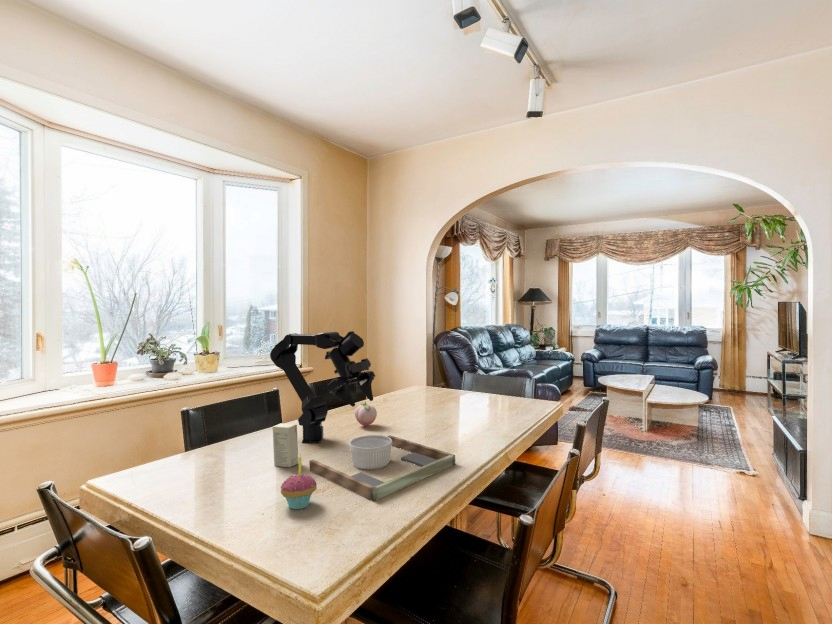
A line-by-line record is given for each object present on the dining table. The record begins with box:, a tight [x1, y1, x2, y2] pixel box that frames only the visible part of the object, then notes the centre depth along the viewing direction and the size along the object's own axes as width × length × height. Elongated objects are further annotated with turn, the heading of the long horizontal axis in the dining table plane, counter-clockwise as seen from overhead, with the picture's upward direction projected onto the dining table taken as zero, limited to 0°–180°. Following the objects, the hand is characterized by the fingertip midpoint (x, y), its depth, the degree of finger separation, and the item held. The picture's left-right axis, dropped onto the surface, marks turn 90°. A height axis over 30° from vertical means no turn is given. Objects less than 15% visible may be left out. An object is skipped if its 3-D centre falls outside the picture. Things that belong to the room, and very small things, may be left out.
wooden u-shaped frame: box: [309, 434, 456, 502], centre depth 127 cm, size 29×32×3 cm
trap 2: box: [400, 452, 436, 468], centre depth 132 cm, size 10×6×1 cm, turn 46°
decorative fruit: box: [354, 401, 378, 428], centre depth 170 cm, size 9×8×10 cm
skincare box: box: [272, 422, 299, 468], centre depth 131 cm, size 6×4×12 cm
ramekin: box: [348, 434, 393, 471], centre depth 131 cm, size 13×13×7 cm
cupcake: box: [280, 453, 318, 510], centre depth 104 cm, size 9×8×12 cm
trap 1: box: [350, 471, 385, 486], centre depth 116 cm, size 10×6×1 cm, turn 46°
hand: (363, 403), depth 141 cm, fingers open, 9 cm apart
